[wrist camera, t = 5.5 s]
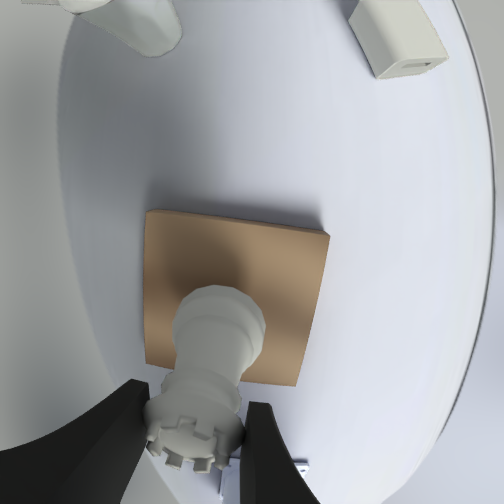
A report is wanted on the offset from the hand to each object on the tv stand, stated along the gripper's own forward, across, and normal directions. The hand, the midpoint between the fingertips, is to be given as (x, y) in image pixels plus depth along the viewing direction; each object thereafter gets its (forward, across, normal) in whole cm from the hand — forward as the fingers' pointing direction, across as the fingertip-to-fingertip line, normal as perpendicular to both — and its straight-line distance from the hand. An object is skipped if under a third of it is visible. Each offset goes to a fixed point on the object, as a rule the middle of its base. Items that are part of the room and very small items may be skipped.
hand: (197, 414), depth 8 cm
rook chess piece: (+6, 0, 0) cm, 6 cm away
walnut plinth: (+10, 0, 0) cm, 10 cm away
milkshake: (+10, +7, -16) cm, 20 cm away
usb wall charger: (+10, -7, -19) cm, 22 cm away
